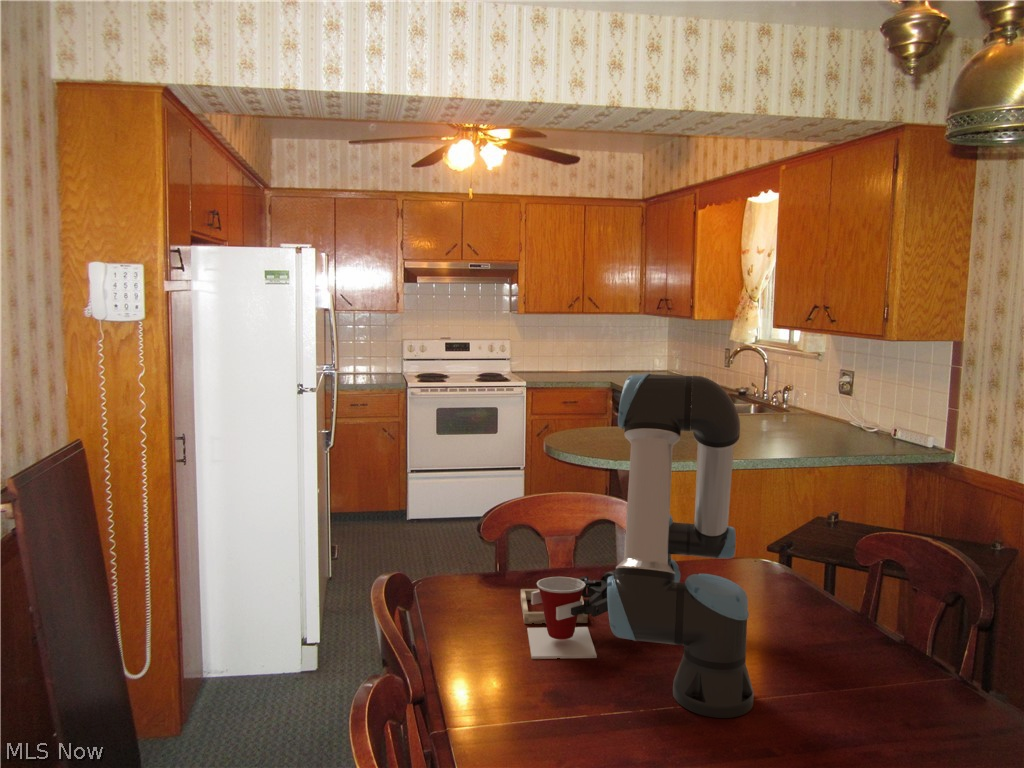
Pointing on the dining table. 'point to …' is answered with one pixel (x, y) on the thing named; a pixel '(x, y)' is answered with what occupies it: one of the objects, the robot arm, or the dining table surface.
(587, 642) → the white tile
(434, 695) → the dining table surface
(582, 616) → the birch collar
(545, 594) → the plastic cup
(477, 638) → the dining table surface
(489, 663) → the dining table surface
